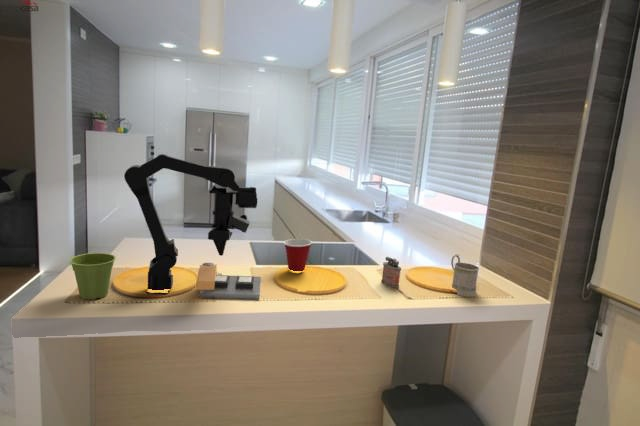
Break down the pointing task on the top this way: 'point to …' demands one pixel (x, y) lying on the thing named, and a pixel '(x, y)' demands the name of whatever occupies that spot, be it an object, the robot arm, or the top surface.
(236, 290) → the power supply chassis
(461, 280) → the mug
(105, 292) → the plant pot
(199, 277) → the wooden plank
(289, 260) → the plastic cup
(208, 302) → the top surface
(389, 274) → the lighter
